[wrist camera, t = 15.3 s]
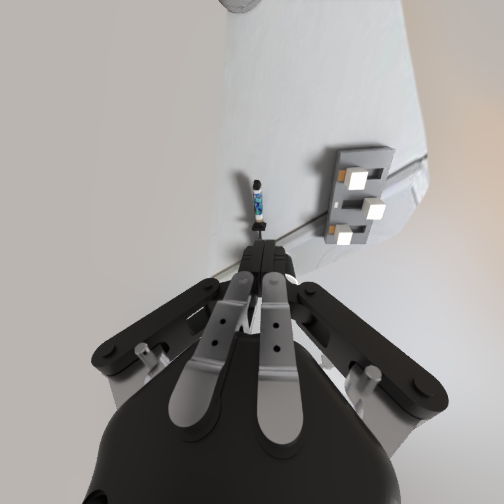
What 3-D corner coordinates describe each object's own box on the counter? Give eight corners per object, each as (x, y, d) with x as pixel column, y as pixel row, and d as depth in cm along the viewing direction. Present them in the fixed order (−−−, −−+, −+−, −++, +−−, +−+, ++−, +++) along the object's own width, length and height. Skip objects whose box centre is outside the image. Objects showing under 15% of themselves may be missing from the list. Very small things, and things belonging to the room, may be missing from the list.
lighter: (331, 355, 83) (335, 375, 76) (331, 357, 84) (335, 377, 77) (314, 354, 84) (316, 374, 78) (314, 355, 85) (316, 375, 79)
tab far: (334, 221, 44) (339, 232, 40) (346, 221, 44) (352, 232, 40) (332, 232, 46) (336, 244, 42) (343, 232, 46) (349, 244, 41)
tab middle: (362, 195, 40) (370, 204, 36) (375, 194, 40) (385, 204, 35) (358, 208, 42) (366, 219, 38) (371, 208, 41) (380, 219, 37)
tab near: (344, 165, 37) (352, 172, 33) (359, 164, 37) (368, 171, 33) (341, 181, 39) (348, 189, 35) (355, 180, 38) (363, 189, 34)
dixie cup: (284, 272, 58) (284, 301, 49) (262, 259, 56) (258, 287, 48) (302, 256, 54) (305, 284, 45) (279, 241, 52) (278, 268, 43)
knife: (254, 174, 41) (251, 183, 38) (268, 175, 41) (266, 183, 37) (254, 269, 62) (252, 280, 59) (263, 270, 61) (262, 281, 58)
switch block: (337, 150, 37) (341, 153, 35) (388, 146, 36) (395, 149, 33) (323, 237, 49) (325, 243, 47) (361, 237, 48) (365, 244, 45)
